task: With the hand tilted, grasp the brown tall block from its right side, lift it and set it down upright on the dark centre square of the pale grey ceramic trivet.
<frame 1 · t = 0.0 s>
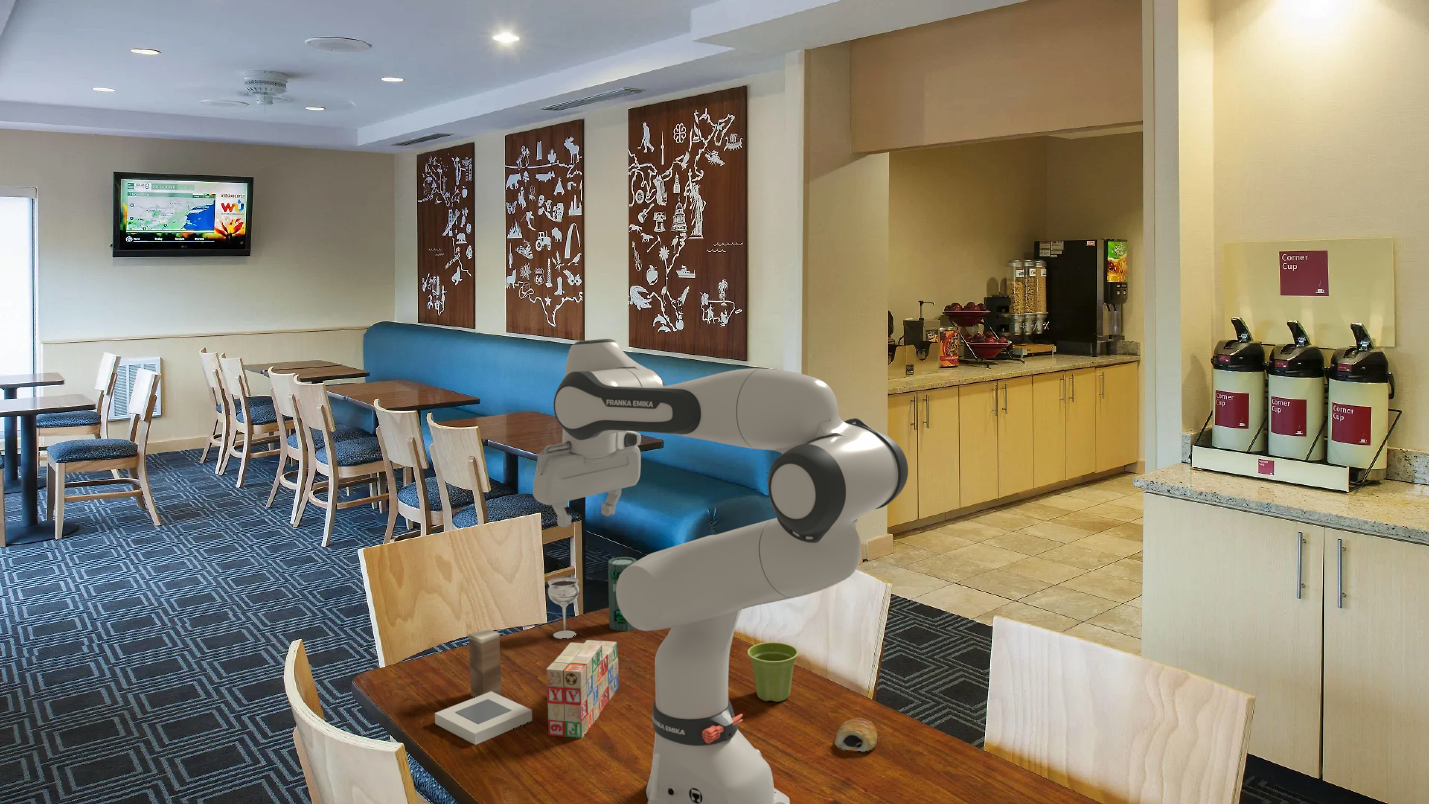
hand: (586, 520, 164), 39 cm above the table, tool pointing down, fingers open, 8 cm apart
plant pot: (773, 696, 188), on the table
pastry: (856, 744, 170), on the table
wineglass: (564, 635, 220), on the table
trivet: (483, 722, 178), on the table
can: (623, 626, 225), on the table
brown tall block: (486, 695, 189), on the table
stack of blocks: (585, 712, 183), on the table
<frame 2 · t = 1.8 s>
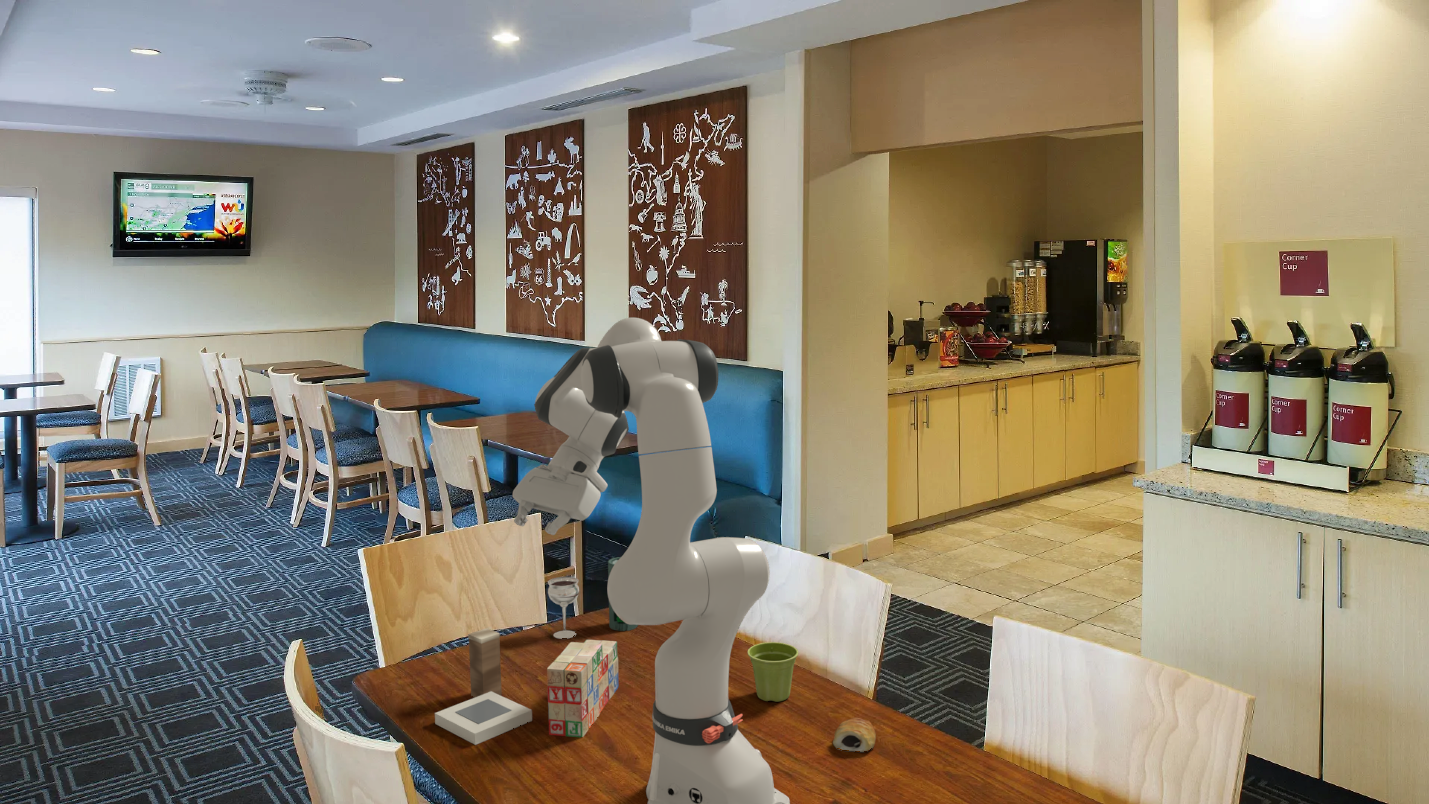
hand: (533, 528, 194), 30 cm above the table, tool tilted 45°, fingers open, 8 cm apart
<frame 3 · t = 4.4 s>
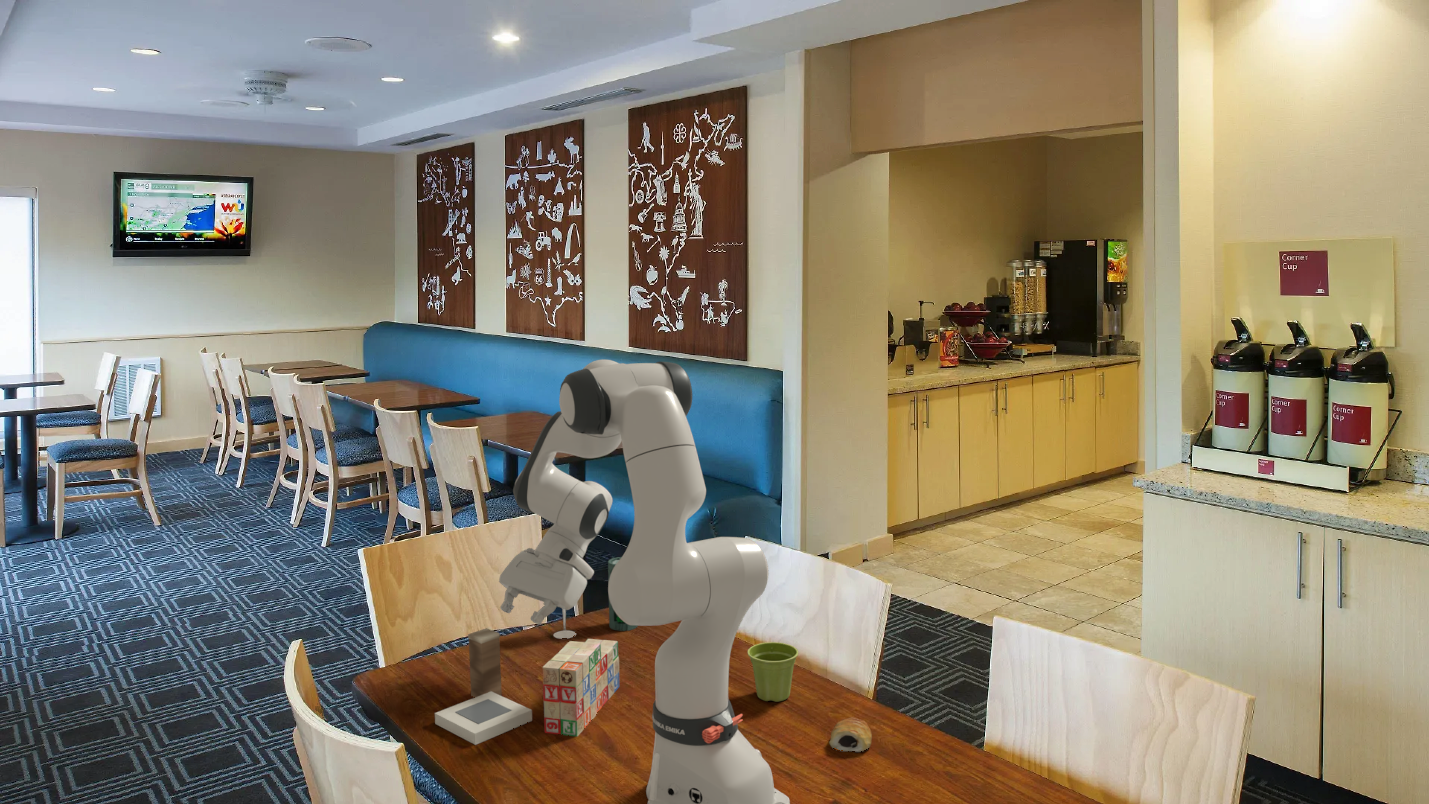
hand: (519, 616, 193), 13 cm above the table, tool tilted 45°, fingers open, 8 cm apart
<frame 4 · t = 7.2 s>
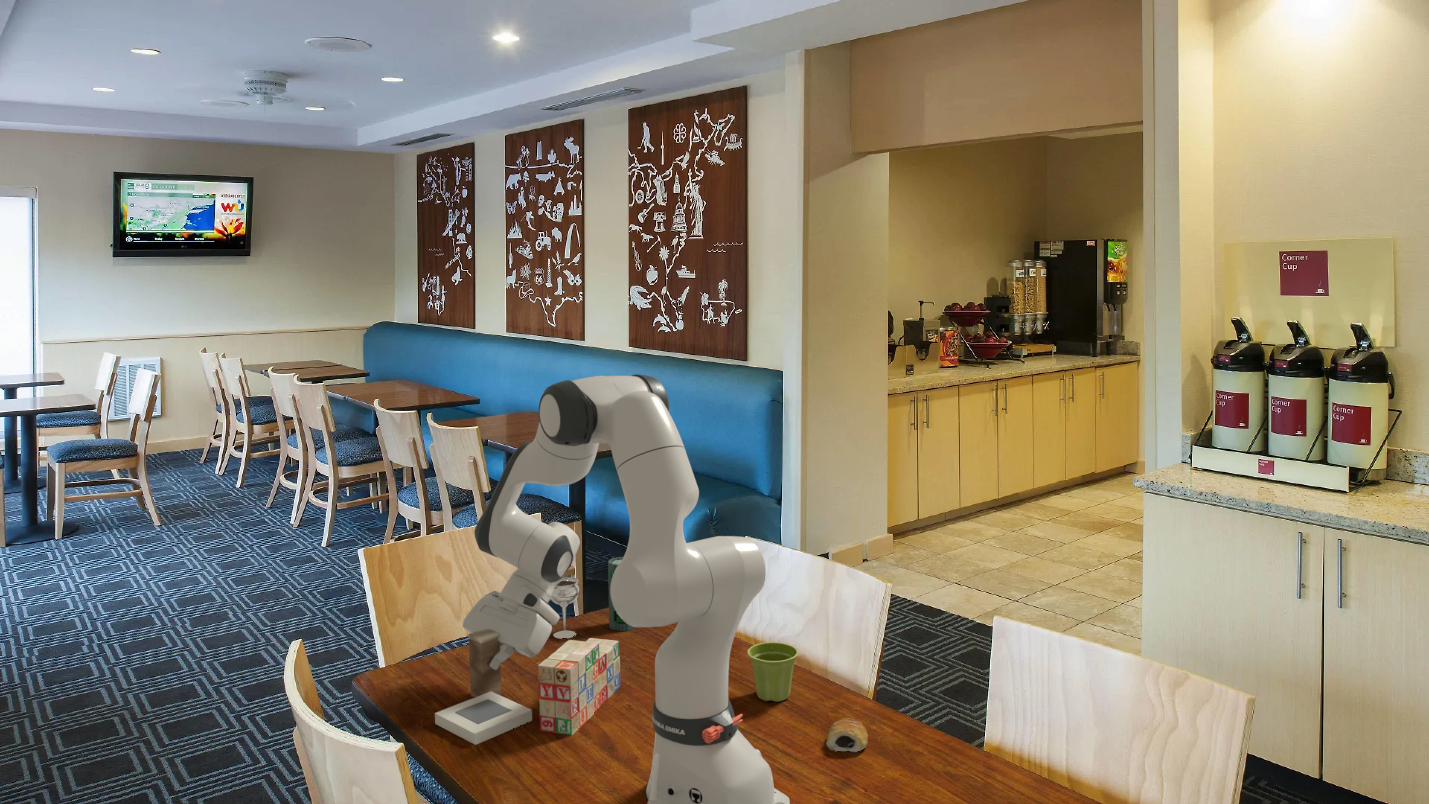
hand: (482, 664, 188), 6 cm above the table, tool tilted 45°, fingers closed on brown tall block, 4 cm apart
brown tall block: (486, 695, 189), on the table, touching gripper
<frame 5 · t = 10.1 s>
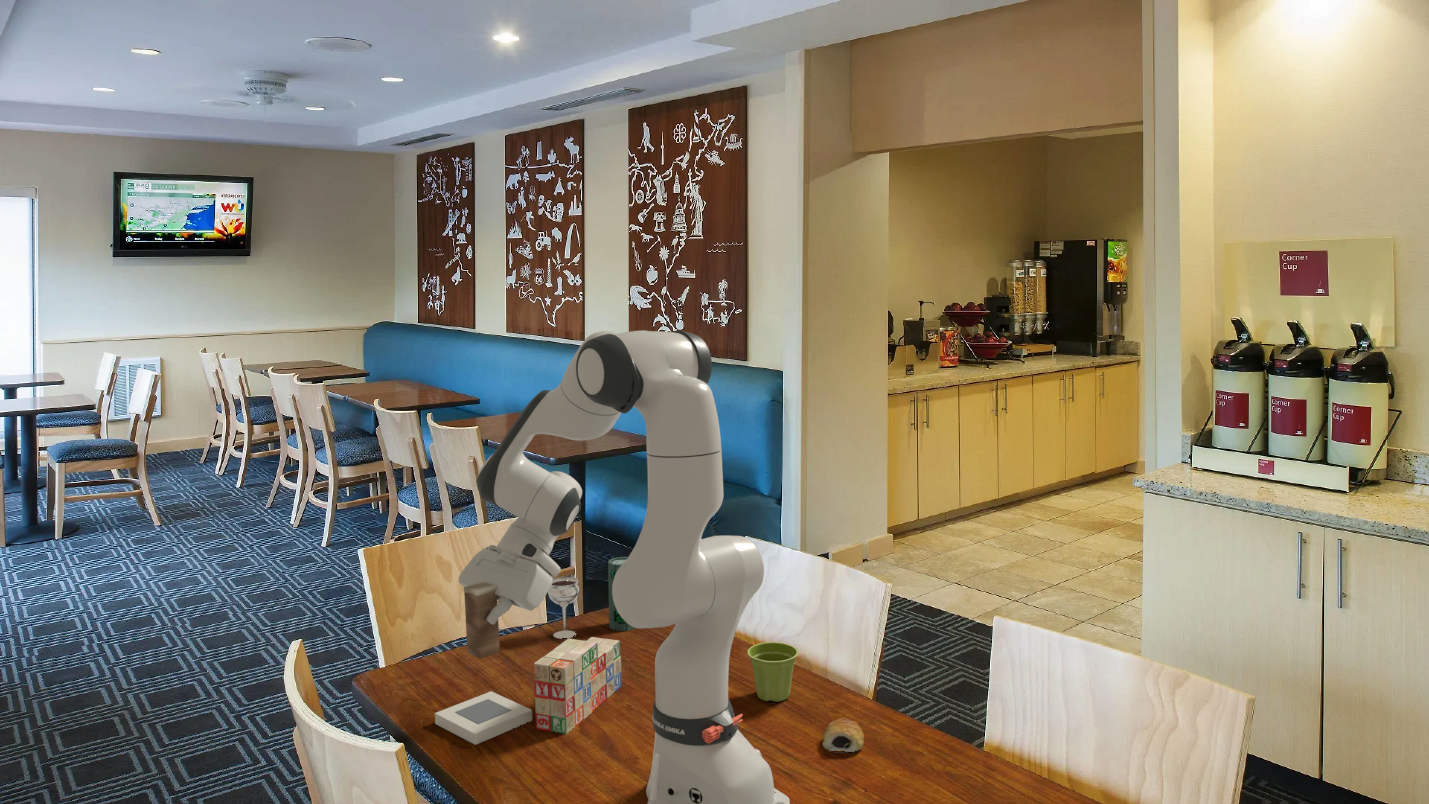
hand: (478, 619, 177), 19 cm above the table, tool tilted 45°, fingers closed on brown tall block, 4 cm apart
brown tall block: (483, 652, 178), point 12 cm above the table, touching gripper
when the fingers open (10 cm above the table, at t = 13.0 s): brown tall block drops 1 cm, resting on trivet.
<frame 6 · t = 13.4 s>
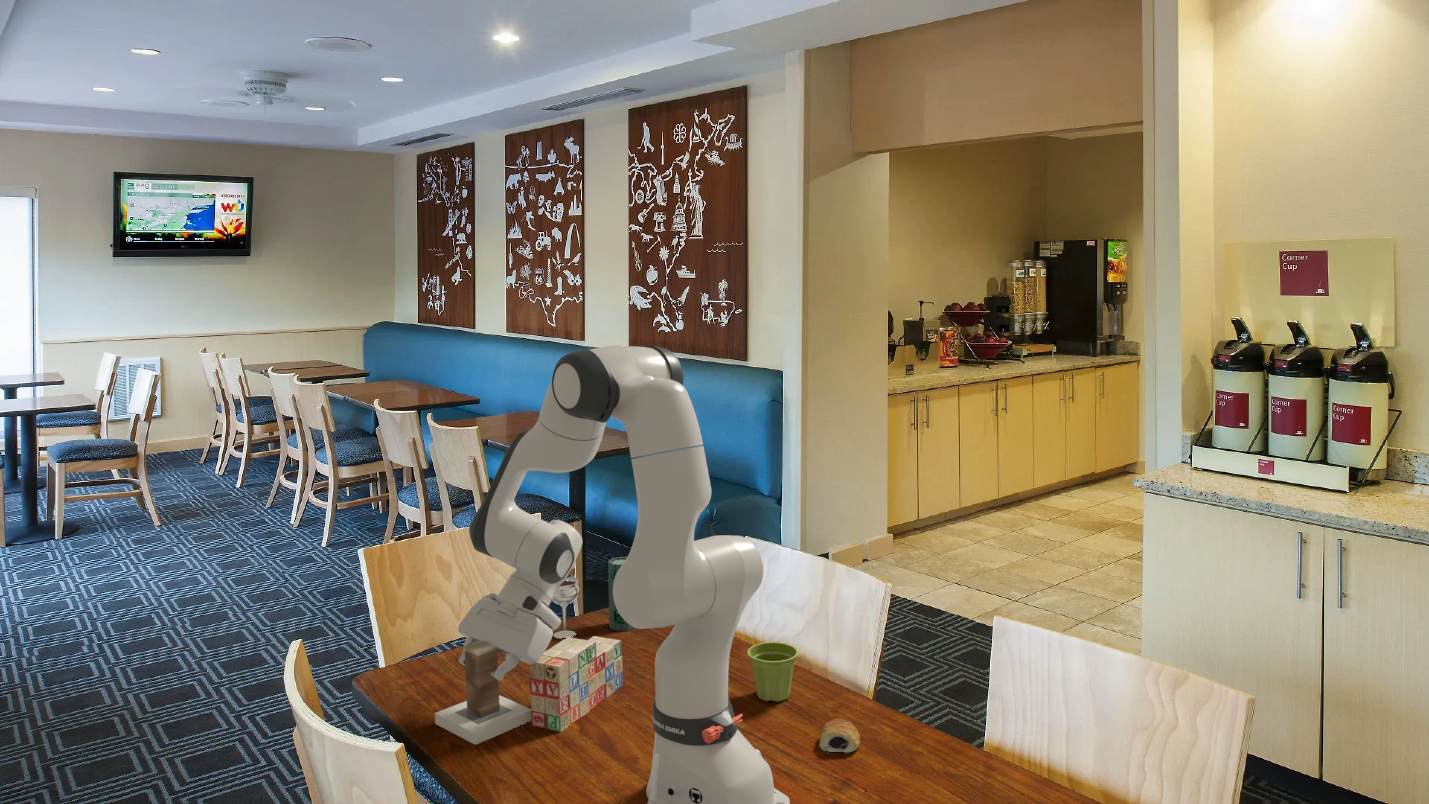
hand: (478, 671, 176), 10 cm above the table, tool tilted 45°, fingers open, 8 cm apart
brown tall block: (483, 711, 178), point 2 cm above the table, touching trivet
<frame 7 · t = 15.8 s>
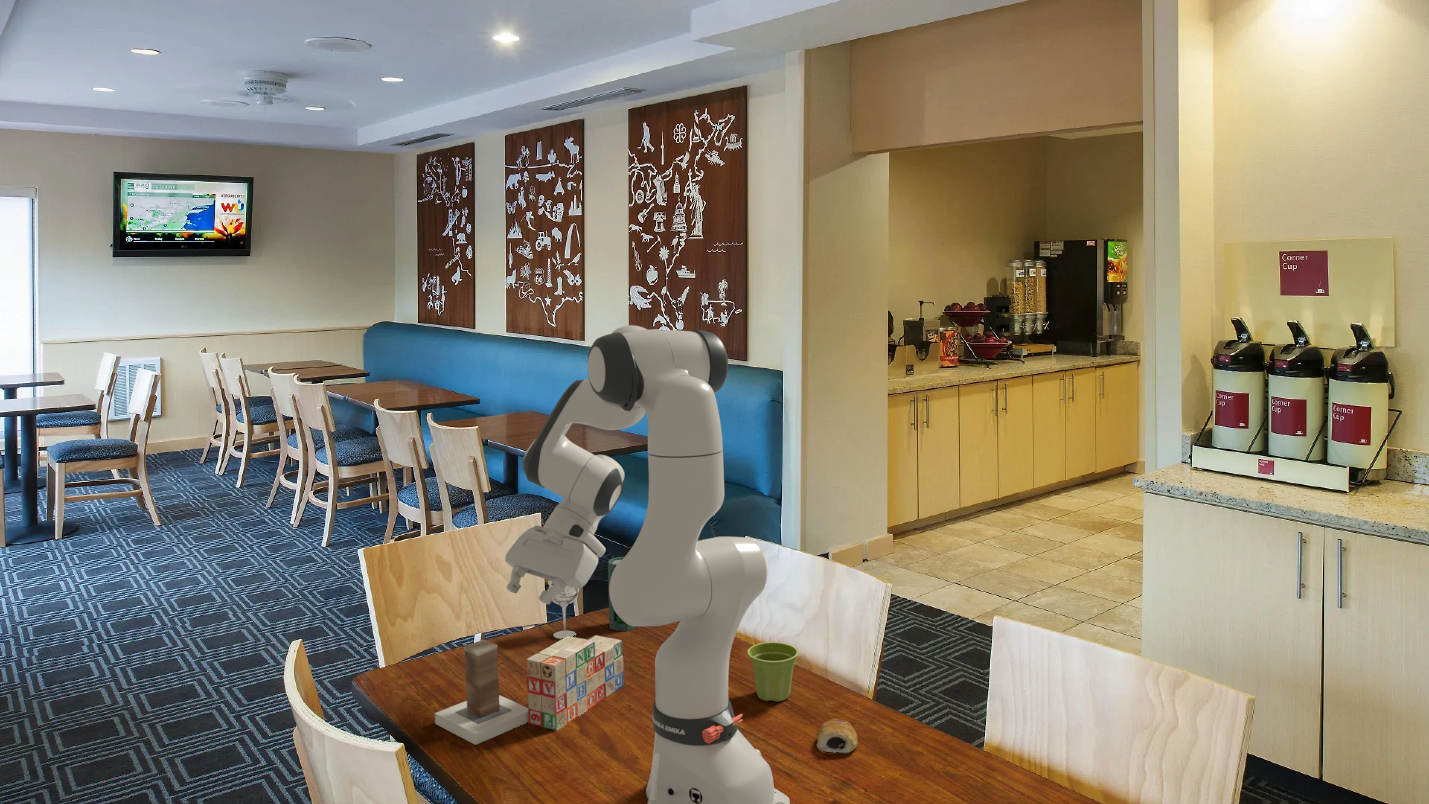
hand: (526, 596, 183), 20 cm above the table, tool tilted 45°, fingers open, 8 cm apart
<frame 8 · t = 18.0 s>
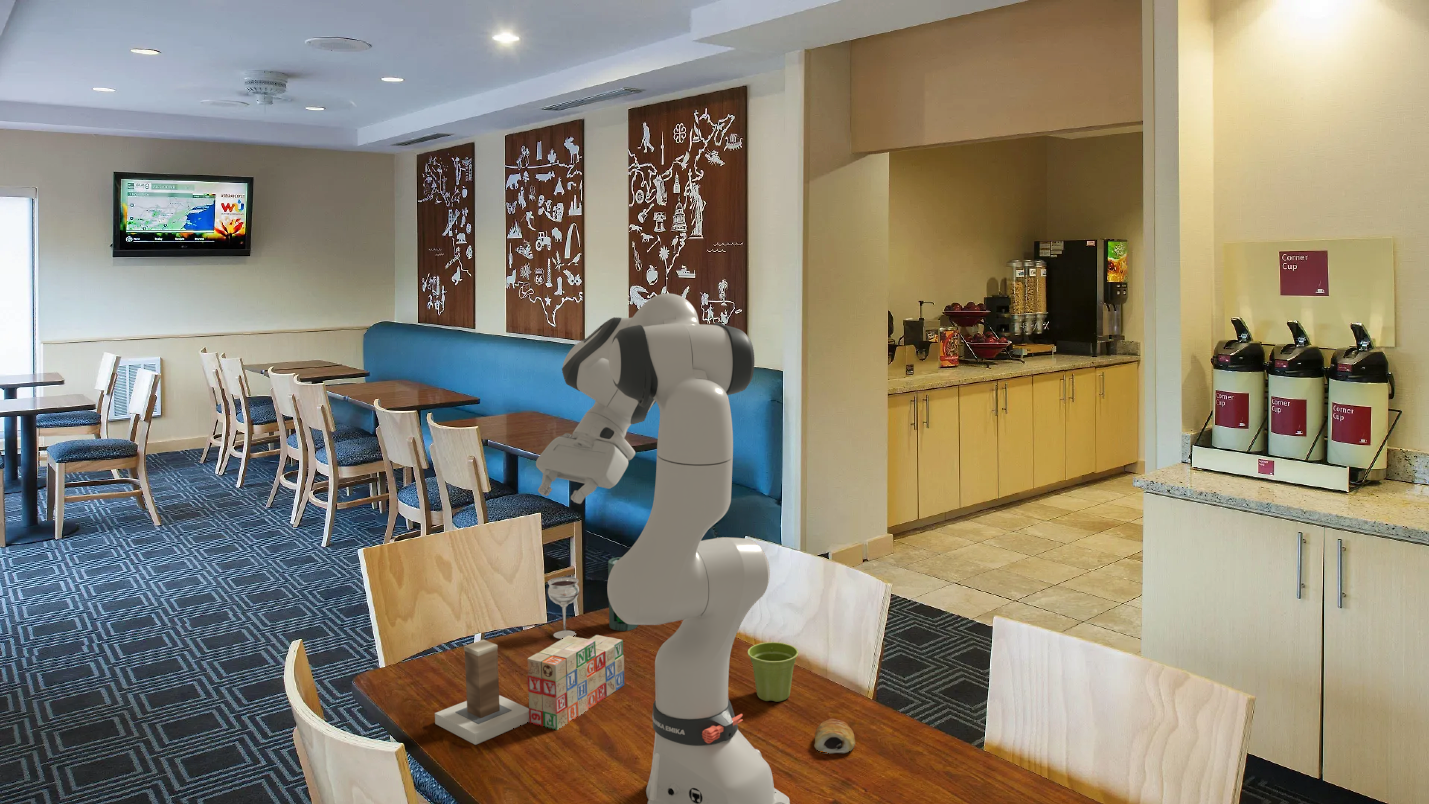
hand: (558, 497, 187), 37 cm above the table, tool tilted 45°, fingers open, 8 cm apart
at the end: brown tall block 0.1 cm off-centre on the trivet, point 2.1 cm above the trivet's base; brown tall block tilted 0°; the gripper is holding nothing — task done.
